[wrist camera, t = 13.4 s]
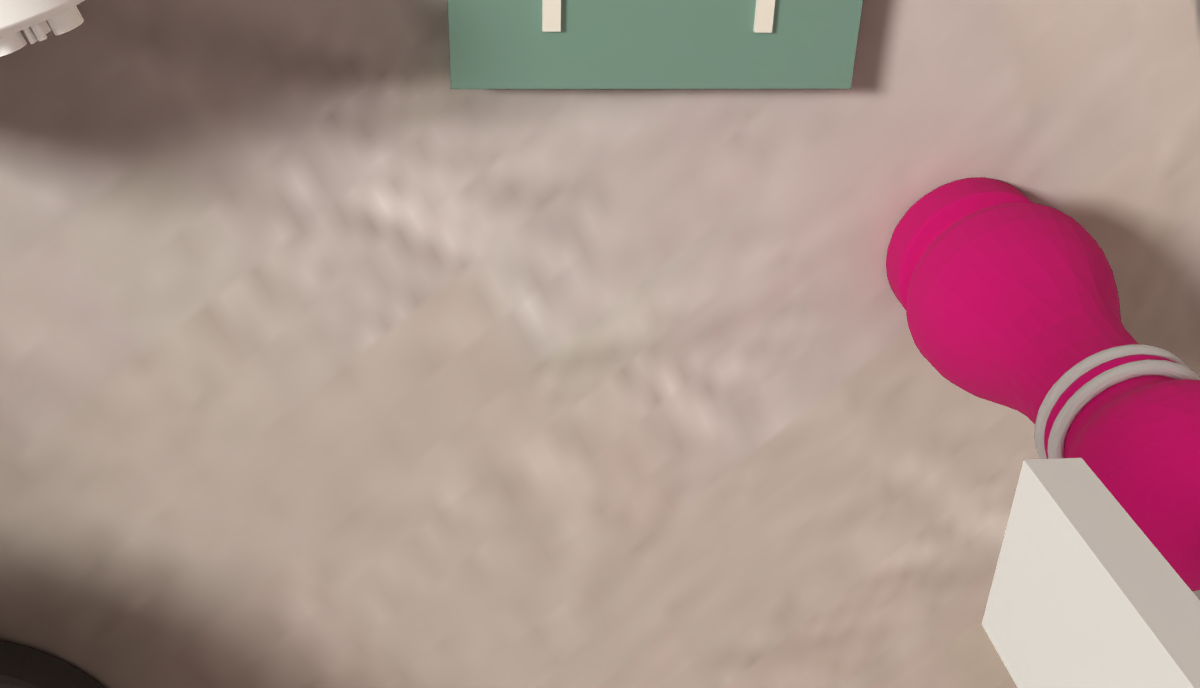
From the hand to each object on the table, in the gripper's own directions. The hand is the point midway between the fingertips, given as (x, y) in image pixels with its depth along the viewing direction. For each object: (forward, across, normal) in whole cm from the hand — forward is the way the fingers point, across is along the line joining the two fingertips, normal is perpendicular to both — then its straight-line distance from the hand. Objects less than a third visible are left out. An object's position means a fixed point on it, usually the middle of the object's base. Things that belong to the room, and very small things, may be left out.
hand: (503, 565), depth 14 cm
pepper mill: (+29, -19, +9) cm, 36 cm away
